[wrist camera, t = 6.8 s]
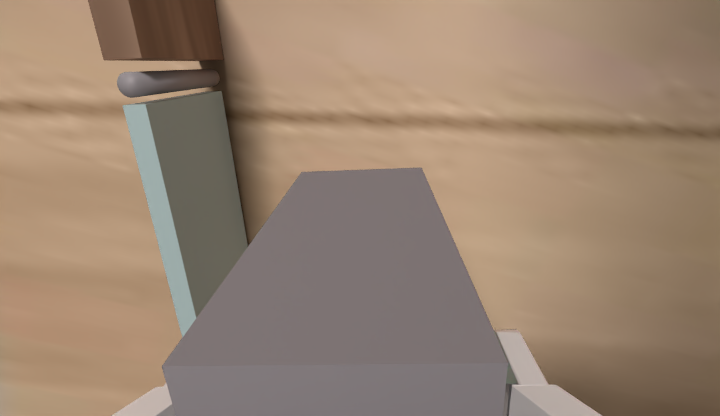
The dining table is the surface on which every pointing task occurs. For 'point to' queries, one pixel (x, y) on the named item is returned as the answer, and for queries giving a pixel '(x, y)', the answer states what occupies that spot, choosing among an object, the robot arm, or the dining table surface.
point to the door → (187, 182)
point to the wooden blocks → (157, 30)
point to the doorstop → (344, 312)
